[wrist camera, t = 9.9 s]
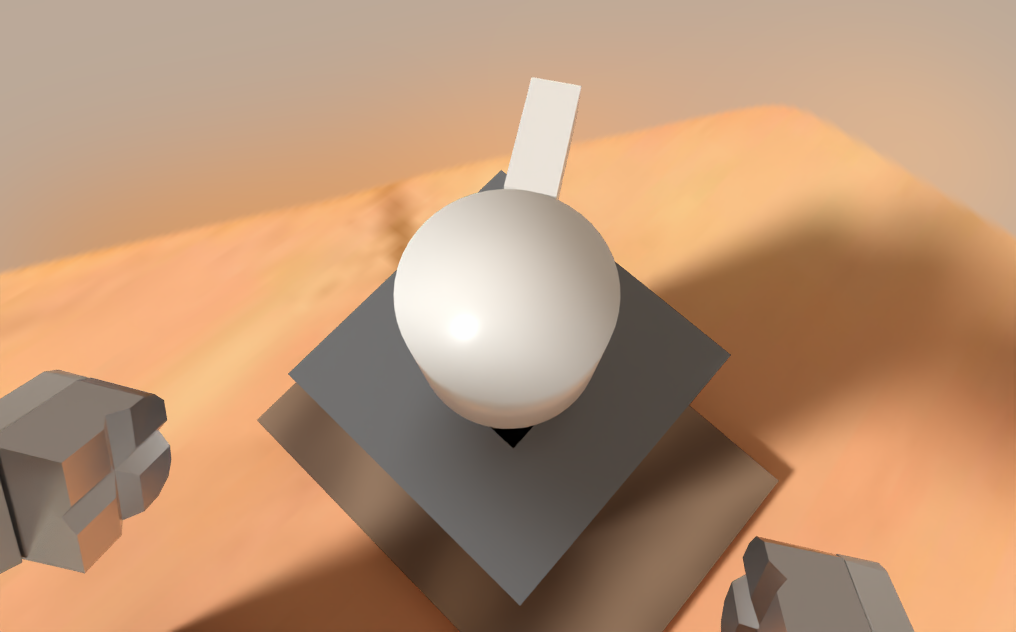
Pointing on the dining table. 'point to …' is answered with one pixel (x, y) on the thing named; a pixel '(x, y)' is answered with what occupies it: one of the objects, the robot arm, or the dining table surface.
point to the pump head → (512, 285)
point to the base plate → (593, 555)
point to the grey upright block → (491, 460)
